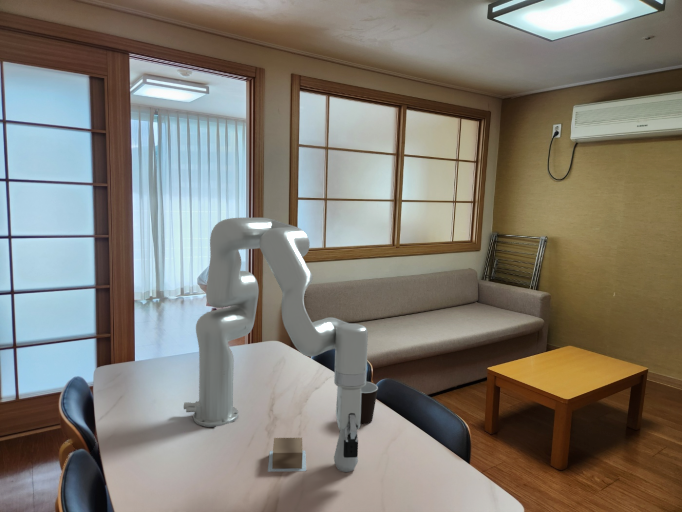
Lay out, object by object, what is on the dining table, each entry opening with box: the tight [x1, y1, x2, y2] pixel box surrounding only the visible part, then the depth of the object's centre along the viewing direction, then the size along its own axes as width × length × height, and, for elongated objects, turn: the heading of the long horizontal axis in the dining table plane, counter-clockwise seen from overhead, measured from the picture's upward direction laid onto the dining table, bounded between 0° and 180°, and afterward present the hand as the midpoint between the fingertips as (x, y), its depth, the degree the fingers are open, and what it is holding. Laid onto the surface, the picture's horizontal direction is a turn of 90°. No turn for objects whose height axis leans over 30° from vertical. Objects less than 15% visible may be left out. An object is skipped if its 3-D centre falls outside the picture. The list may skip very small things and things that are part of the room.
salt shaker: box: [333, 425, 359, 473], centre depth 112 cm, size 6×6×13 cm
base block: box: [272, 437, 304, 469], centre depth 114 cm, size 7×7×4 cm
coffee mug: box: [360, 381, 379, 425], centre depth 140 cm, size 12×9×10 cm
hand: (348, 445), depth 112 cm, fingers open, 9 cm apart
